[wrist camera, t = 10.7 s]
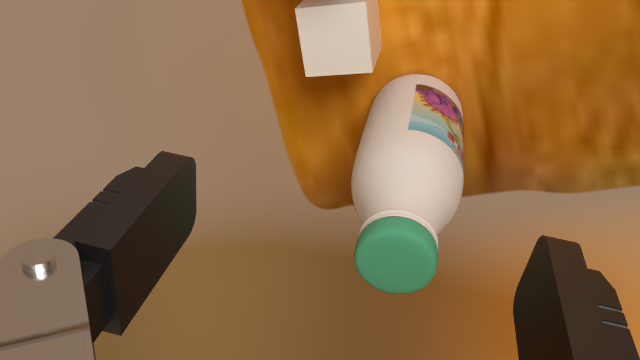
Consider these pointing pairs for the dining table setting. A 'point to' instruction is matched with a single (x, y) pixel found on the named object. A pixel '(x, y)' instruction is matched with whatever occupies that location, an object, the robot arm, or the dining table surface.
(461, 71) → the dining table surface
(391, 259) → the milk bottle
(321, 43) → the beige block
